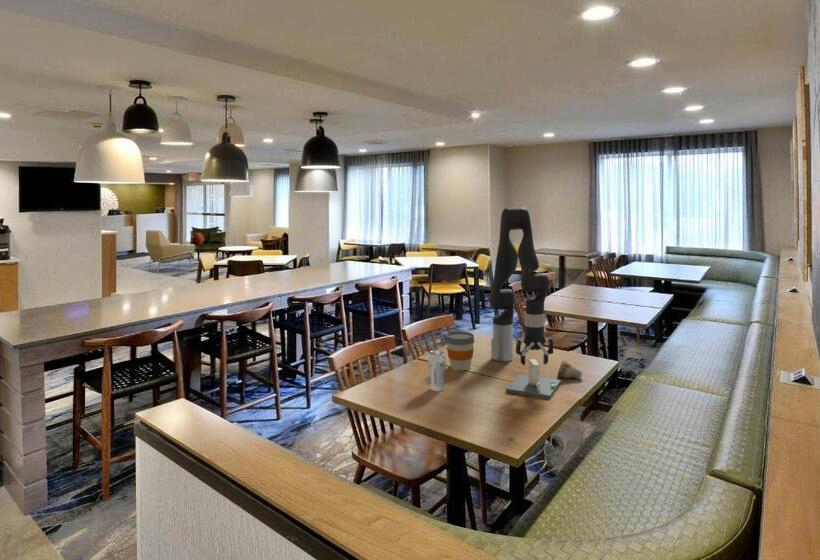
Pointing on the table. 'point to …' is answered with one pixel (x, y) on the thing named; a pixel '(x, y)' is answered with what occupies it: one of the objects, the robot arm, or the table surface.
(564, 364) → the mug
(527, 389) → the dial board
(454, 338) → the reusable coffee cup
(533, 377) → the peg knob
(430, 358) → the beer glass
